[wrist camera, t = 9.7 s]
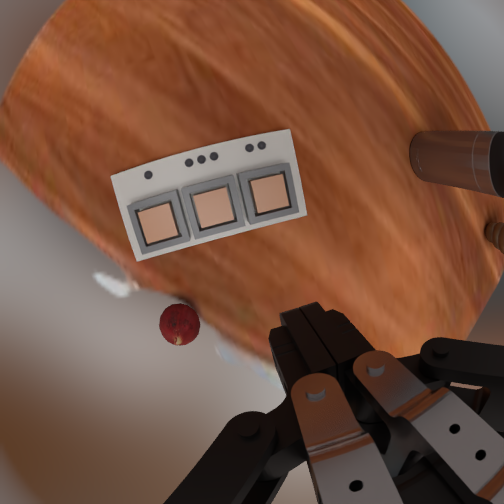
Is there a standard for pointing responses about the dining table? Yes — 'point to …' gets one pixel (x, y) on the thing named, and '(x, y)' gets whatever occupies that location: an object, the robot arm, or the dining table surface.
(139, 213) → the button one
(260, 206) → the button two
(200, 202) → the button three
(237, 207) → the button panel
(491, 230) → the cat ice cream
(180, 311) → the onion
